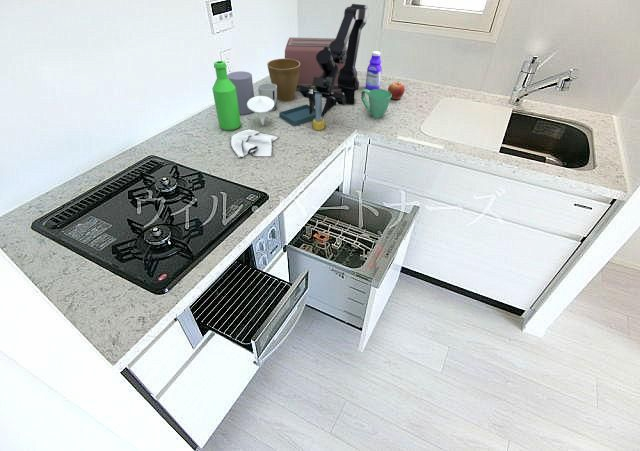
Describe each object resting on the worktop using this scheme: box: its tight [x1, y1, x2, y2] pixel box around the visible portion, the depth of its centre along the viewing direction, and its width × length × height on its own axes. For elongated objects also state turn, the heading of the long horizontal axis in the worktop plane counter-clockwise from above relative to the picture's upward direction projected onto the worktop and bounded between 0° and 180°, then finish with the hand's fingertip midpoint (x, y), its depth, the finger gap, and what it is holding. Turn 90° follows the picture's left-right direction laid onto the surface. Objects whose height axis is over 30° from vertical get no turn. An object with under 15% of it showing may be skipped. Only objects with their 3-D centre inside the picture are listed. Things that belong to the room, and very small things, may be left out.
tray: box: [278, 103, 316, 127], centre depth 147 cm, size 15×11×2 cm
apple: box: [387, 81, 406, 100], centre depth 163 cm, size 8×8×8 cm
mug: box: [360, 88, 392, 119], centre depth 148 cm, size 15×10×10 cm
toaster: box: [284, 37, 348, 93], centre depth 171 cm, size 19×34×20 cm, turn 89°
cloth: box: [230, 129, 279, 159], centre depth 127 cm, size 20×22×2 cm
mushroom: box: [247, 95, 274, 127], centre depth 137 cm, size 10×11×12 cm
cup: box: [257, 82, 278, 112], centre depth 150 cm, size 8×8×10 cm
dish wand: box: [312, 93, 326, 131], centre depth 135 cm, size 5×5×14 cm
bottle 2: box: [365, 50, 383, 91], centre depth 169 cm, size 7×6×17 cm
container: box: [227, 70, 255, 115], centre depth 147 cm, size 10×10×15 cm
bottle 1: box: [212, 60, 242, 131], centre depth 131 cm, size 9×9×25 cm
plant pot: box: [266, 58, 300, 102], centre depth 158 cm, size 15×15×16 cm
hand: (316, 115), depth 134 cm, fingers open, 5 cm apart
